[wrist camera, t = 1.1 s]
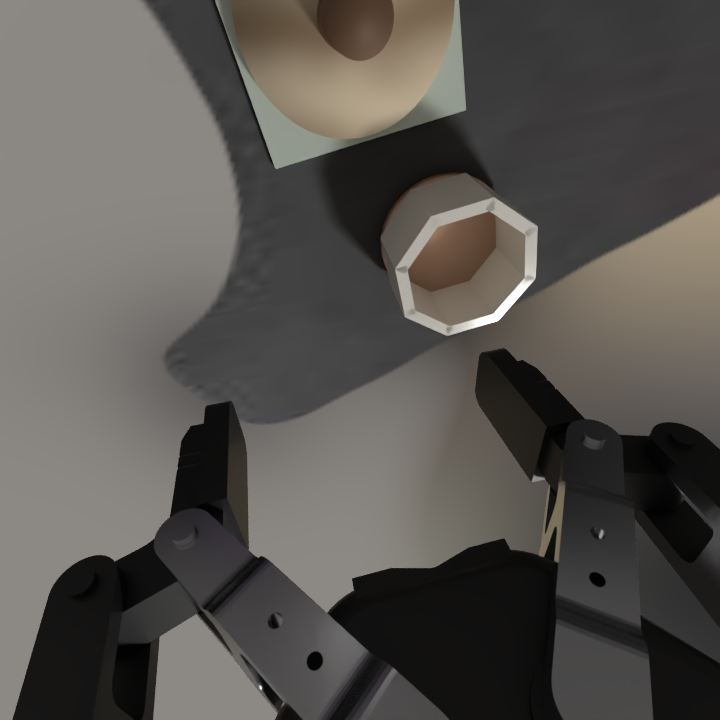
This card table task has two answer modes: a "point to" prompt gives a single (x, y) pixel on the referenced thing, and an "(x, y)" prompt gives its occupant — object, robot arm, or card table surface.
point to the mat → (301, 144)
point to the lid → (344, 58)
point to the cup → (457, 253)
